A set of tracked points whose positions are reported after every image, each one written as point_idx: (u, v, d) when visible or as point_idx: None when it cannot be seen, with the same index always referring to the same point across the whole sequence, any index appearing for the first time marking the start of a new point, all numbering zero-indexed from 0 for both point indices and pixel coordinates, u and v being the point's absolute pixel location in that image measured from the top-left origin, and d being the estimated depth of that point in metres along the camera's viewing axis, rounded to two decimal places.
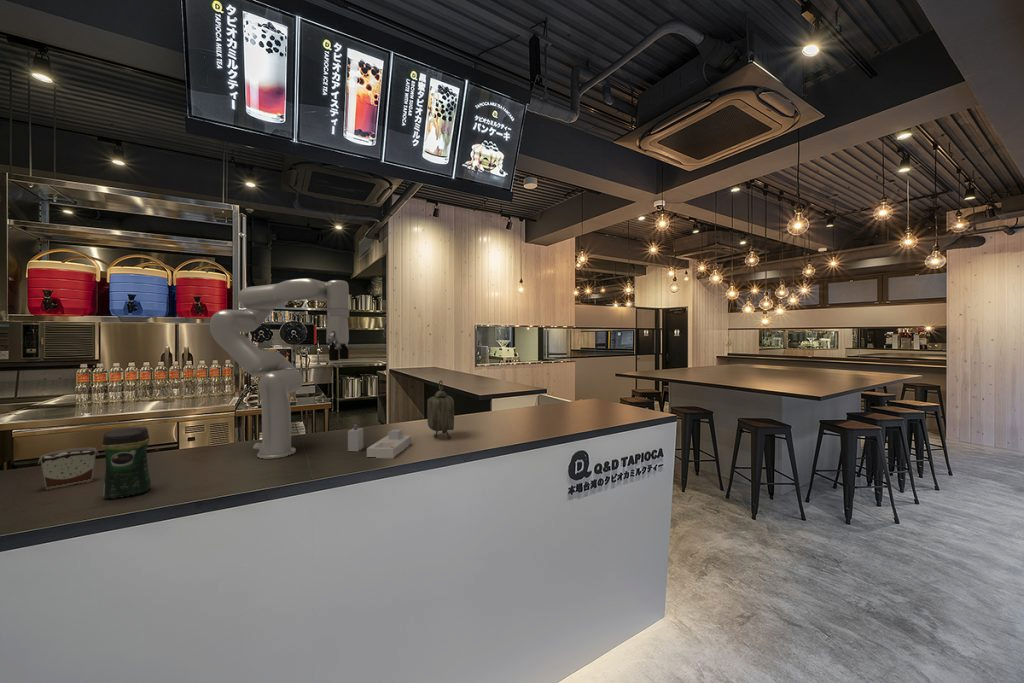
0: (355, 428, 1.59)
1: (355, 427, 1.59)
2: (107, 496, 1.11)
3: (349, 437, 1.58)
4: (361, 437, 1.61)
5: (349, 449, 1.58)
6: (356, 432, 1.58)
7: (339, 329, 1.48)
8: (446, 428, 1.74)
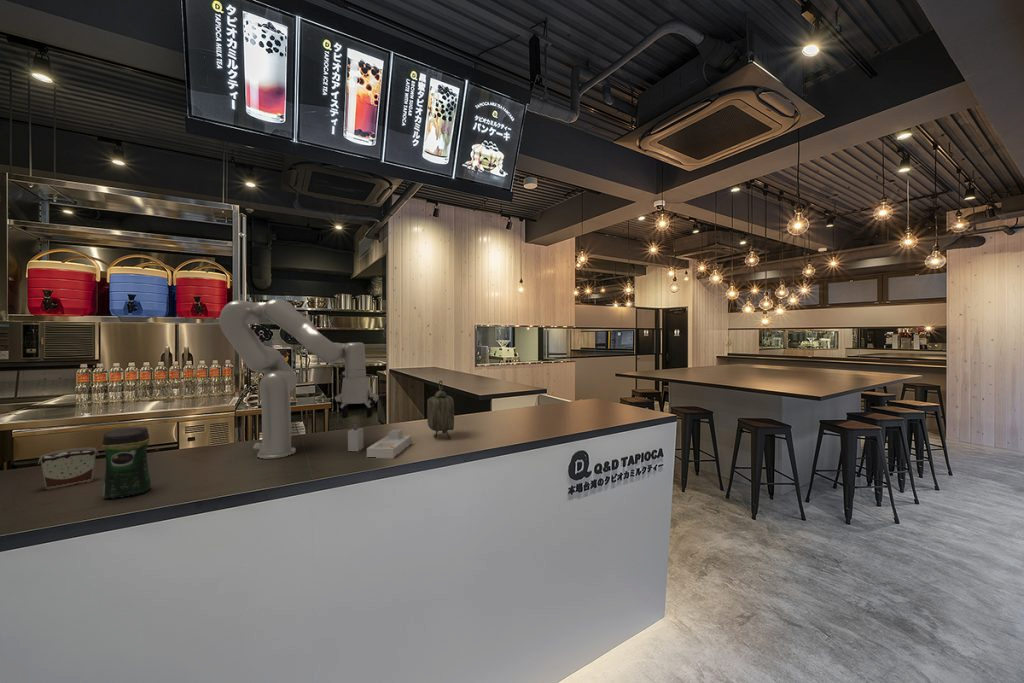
0: (355, 428, 1.59)
1: (355, 427, 1.59)
2: (107, 496, 1.11)
3: (349, 437, 1.58)
4: (361, 437, 1.61)
5: (349, 449, 1.58)
6: (356, 432, 1.58)
7: None
8: (446, 428, 1.74)
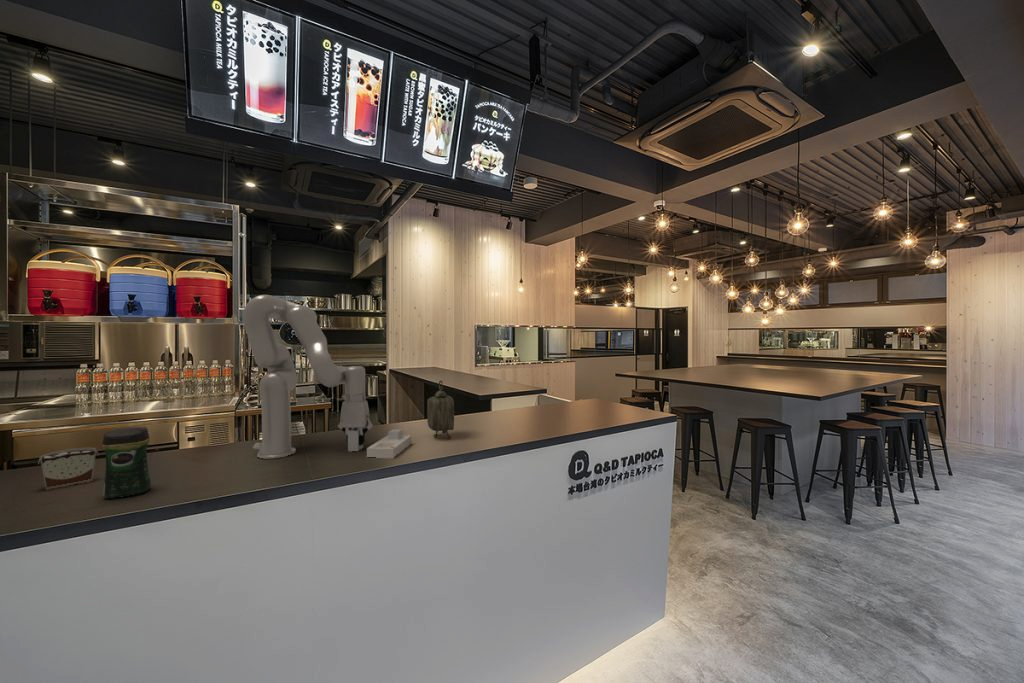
0: (355, 428, 1.59)
1: None
2: (107, 496, 1.11)
3: (349, 437, 1.58)
4: None
5: (349, 449, 1.58)
6: (356, 432, 1.58)
7: None
8: (446, 428, 1.74)
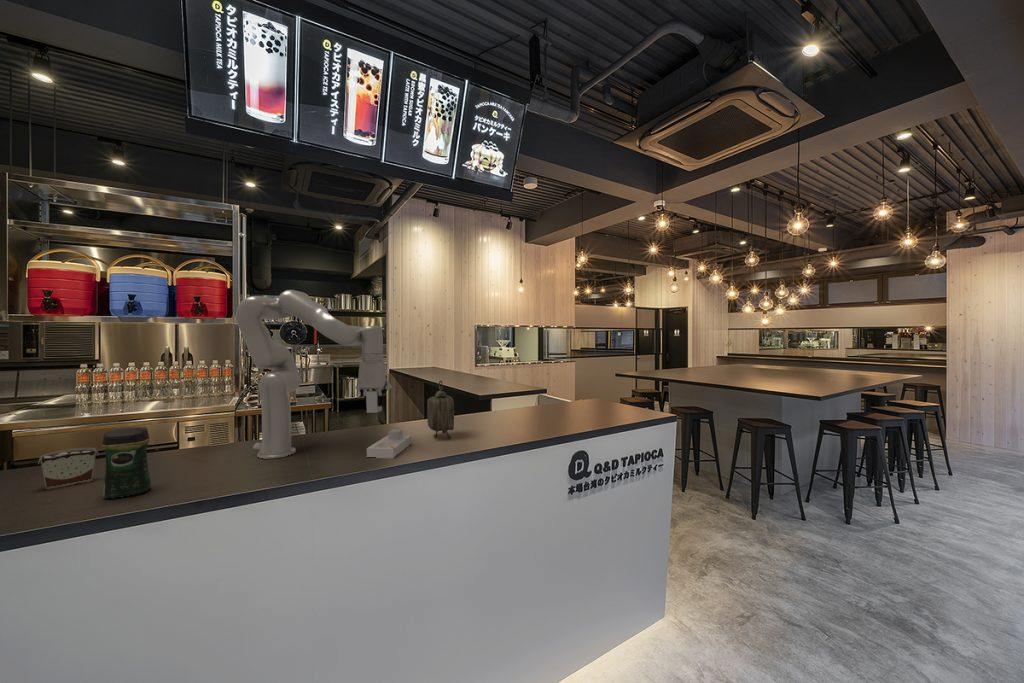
0: (373, 389, 1.55)
1: (373, 388, 1.55)
2: (107, 496, 1.11)
3: (368, 398, 1.54)
4: None
5: (368, 410, 1.54)
6: (375, 392, 1.54)
7: None
8: (446, 428, 1.74)
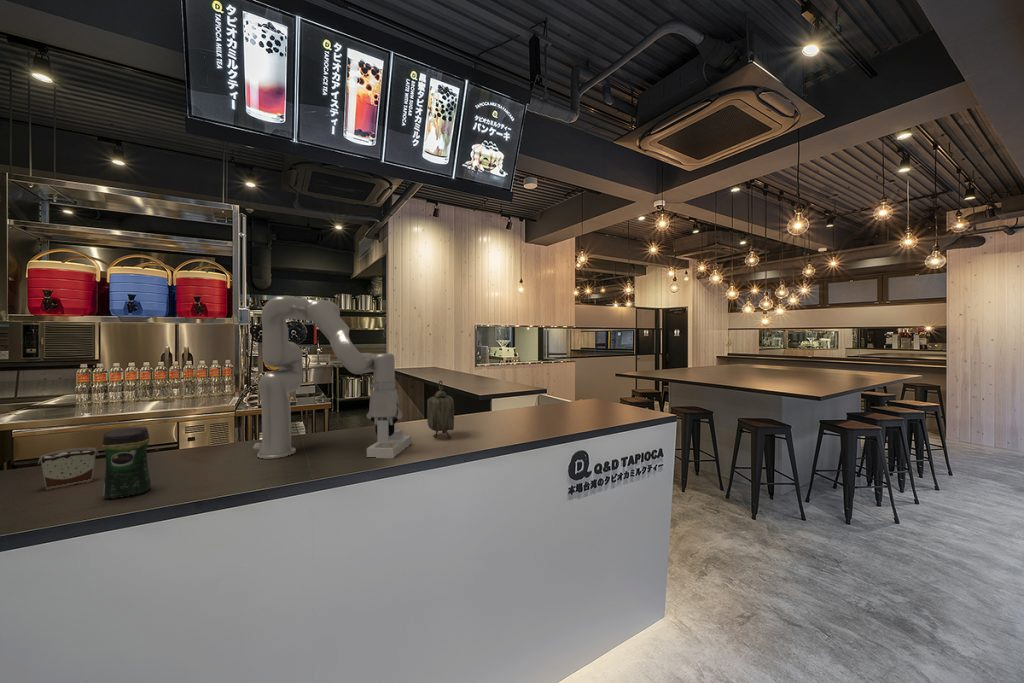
0: (384, 417, 1.53)
1: None
2: (107, 496, 1.11)
3: (379, 427, 1.51)
4: None
5: (379, 439, 1.51)
6: (386, 422, 1.51)
7: None
8: (446, 428, 1.74)
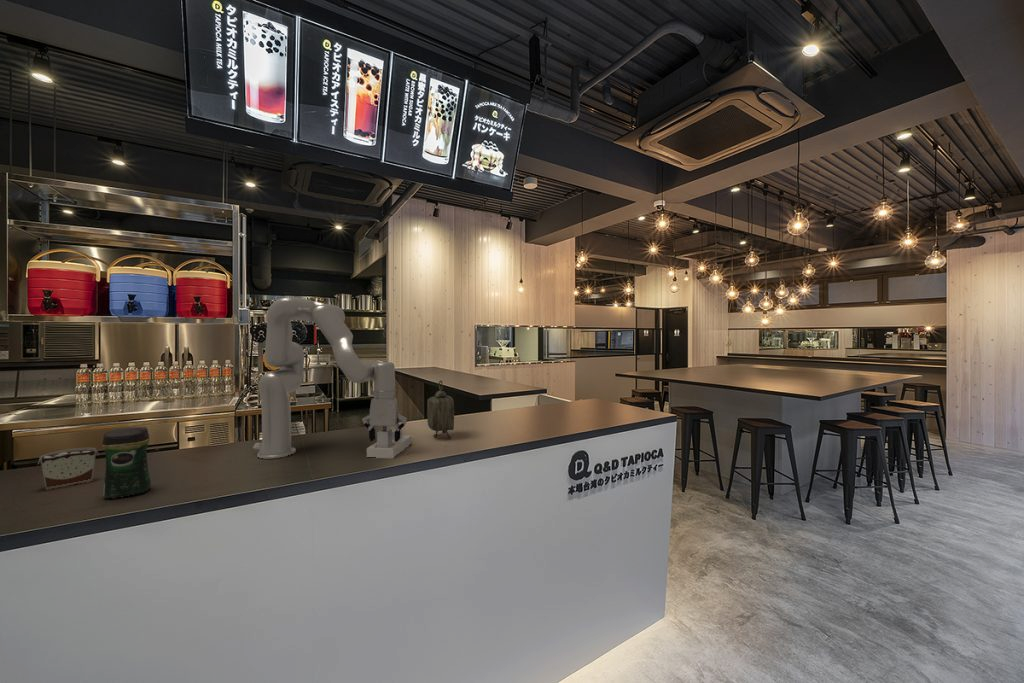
0: (384, 429, 1.53)
1: (384, 428, 1.53)
2: (107, 496, 1.11)
3: (378, 438, 1.51)
4: (390, 438, 1.54)
5: None
6: (386, 433, 1.51)
7: None
8: (446, 428, 1.74)
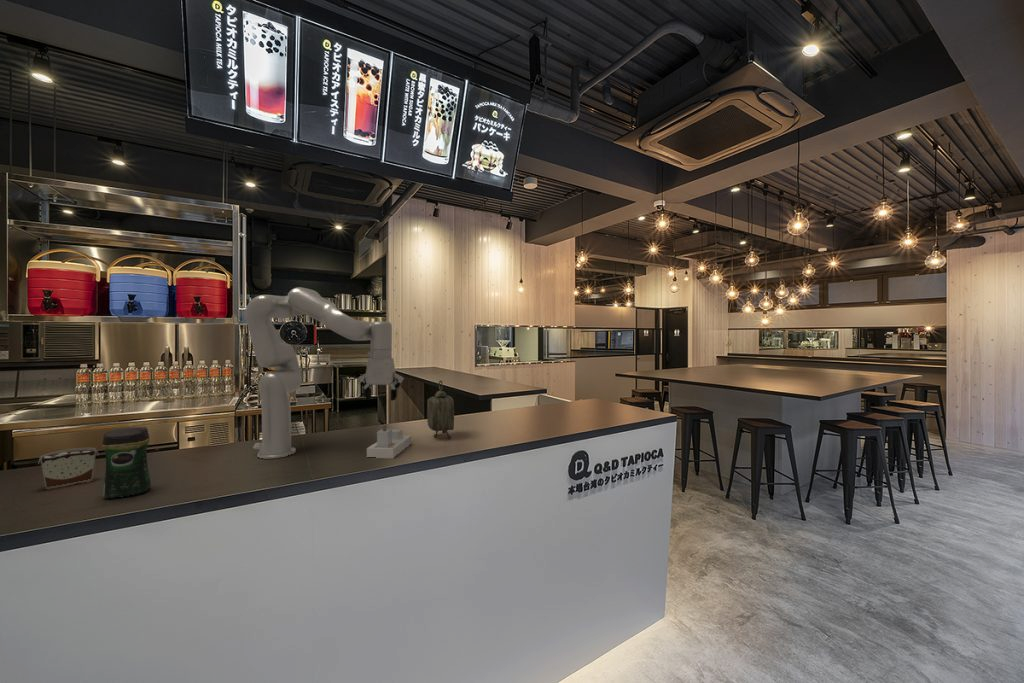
0: (384, 429, 1.53)
1: (384, 428, 1.53)
2: (107, 496, 1.11)
3: (378, 438, 1.51)
4: (390, 438, 1.54)
5: None
6: (386, 433, 1.51)
7: None
8: (446, 428, 1.74)
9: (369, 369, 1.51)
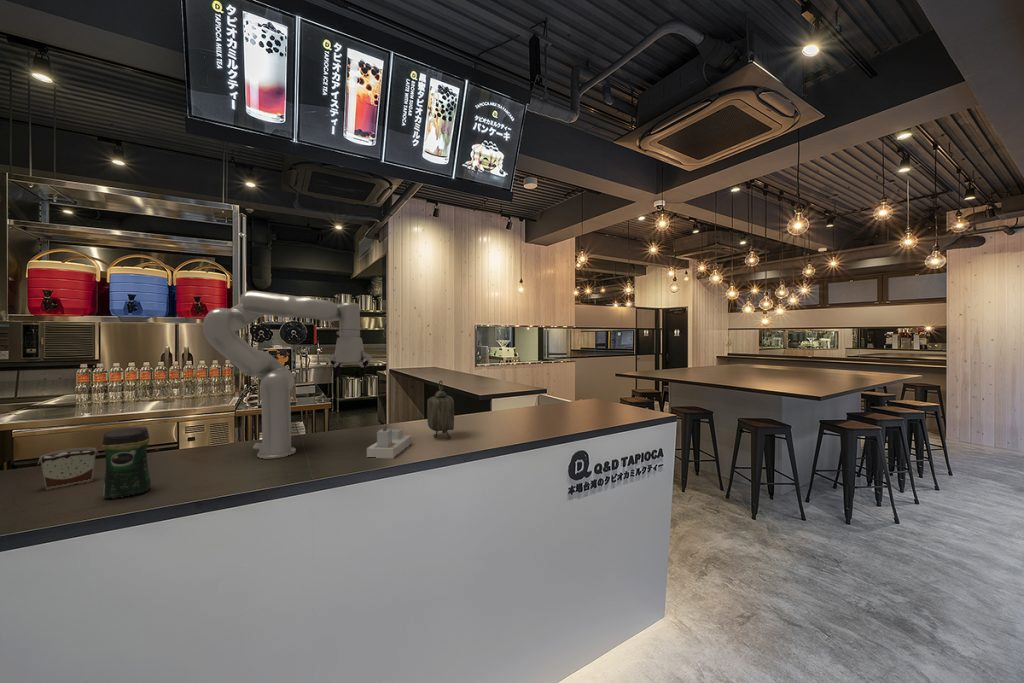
0: (384, 429, 1.53)
1: (384, 428, 1.53)
2: (107, 496, 1.11)
3: (378, 438, 1.51)
4: (390, 438, 1.54)
5: None
6: (386, 433, 1.51)
7: None
8: (446, 428, 1.74)
9: (338, 348, 1.59)
